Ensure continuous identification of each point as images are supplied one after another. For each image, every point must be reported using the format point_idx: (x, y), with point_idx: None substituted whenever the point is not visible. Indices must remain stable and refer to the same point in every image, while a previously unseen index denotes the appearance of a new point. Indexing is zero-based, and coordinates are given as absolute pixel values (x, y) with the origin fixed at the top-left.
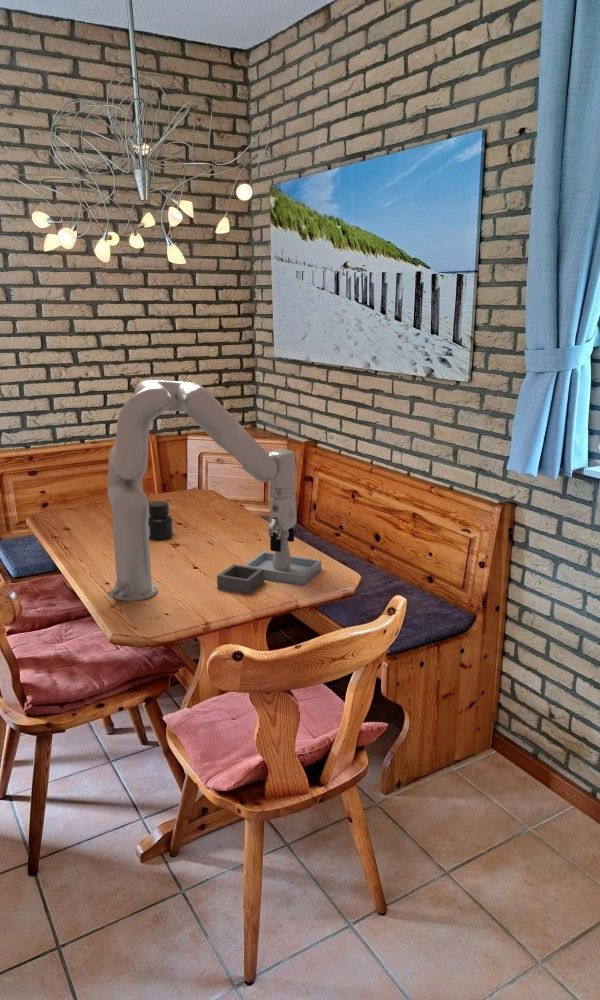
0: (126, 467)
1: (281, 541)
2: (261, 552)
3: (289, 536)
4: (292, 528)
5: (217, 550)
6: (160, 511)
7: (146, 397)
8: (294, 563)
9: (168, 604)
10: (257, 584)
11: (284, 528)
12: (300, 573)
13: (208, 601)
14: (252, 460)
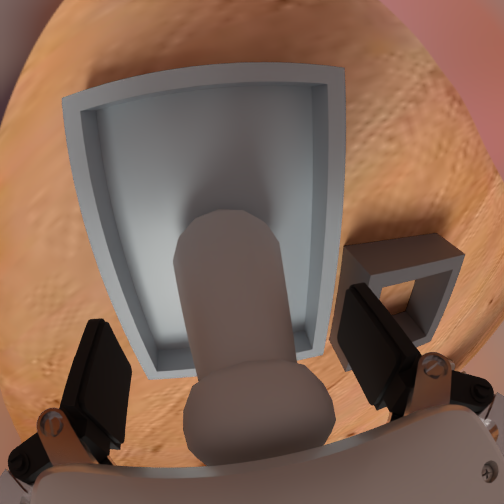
0: None
1: (293, 358)
2: (162, 378)
3: (109, 371)
4: (69, 418)
5: (180, 434)
6: None
7: None
8: (117, 235)
9: (466, 325)
10: (393, 244)
11: (480, 429)
12: (213, 138)
13: (464, 285)
14: None
